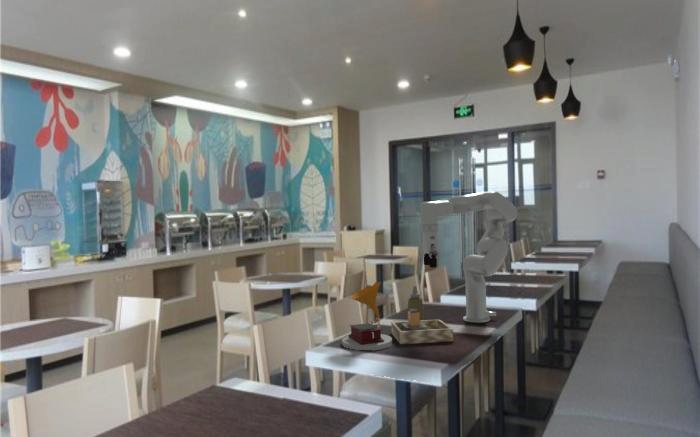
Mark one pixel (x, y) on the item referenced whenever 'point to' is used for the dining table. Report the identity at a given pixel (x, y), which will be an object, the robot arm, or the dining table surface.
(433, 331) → the box
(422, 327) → the socket
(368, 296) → the gramophone
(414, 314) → the orange canister
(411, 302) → the squeeze bottle
